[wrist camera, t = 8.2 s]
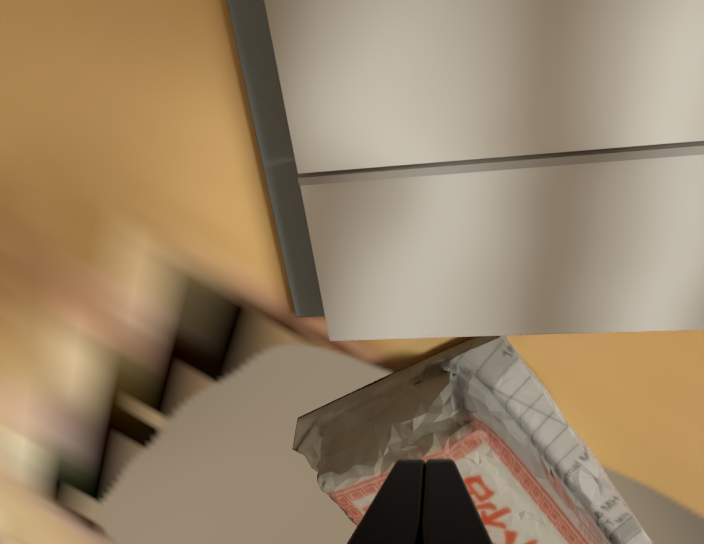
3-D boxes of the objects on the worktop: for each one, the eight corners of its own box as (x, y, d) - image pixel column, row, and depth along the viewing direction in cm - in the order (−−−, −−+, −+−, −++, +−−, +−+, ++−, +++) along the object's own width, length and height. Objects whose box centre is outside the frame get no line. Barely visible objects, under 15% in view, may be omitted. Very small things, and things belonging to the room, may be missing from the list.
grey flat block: (888, 108, 17) (927, 127, 15) (833, 296, 20) (861, 326, 18) (307, 158, 20) (297, 178, 18) (336, 315, 23) (329, 342, 21)
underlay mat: (1216, -692, 10) (1235, -707, 10) (881, 289, 20) (887, 294, 19) (142, -405, 14) (136, -411, 13) (297, 312, 23) (296, 317, 23)
